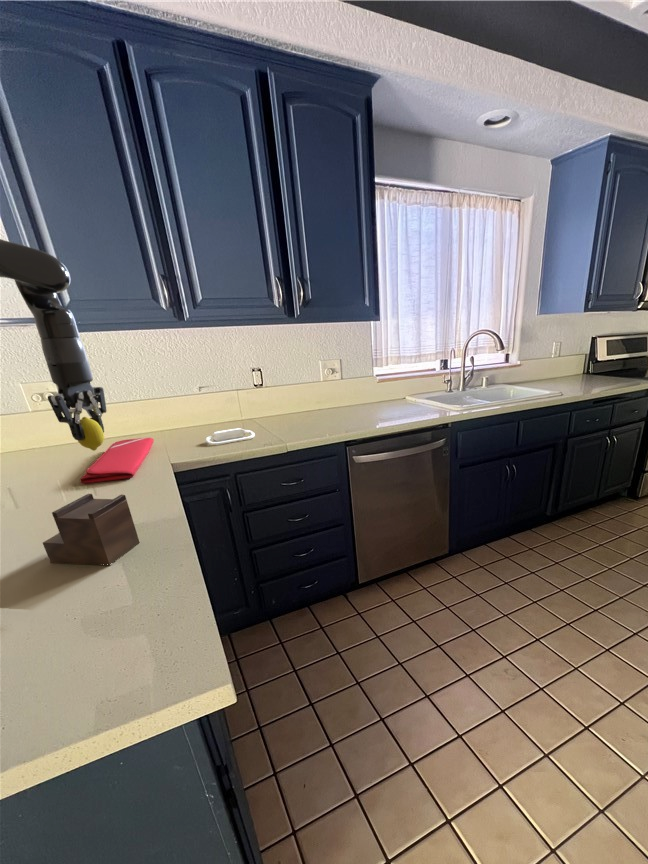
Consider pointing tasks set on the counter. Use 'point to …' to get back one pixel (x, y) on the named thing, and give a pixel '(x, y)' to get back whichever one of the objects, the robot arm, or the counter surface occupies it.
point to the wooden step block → (92, 531)
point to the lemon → (91, 434)
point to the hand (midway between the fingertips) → (89, 436)
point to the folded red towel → (119, 461)
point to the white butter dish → (229, 436)
